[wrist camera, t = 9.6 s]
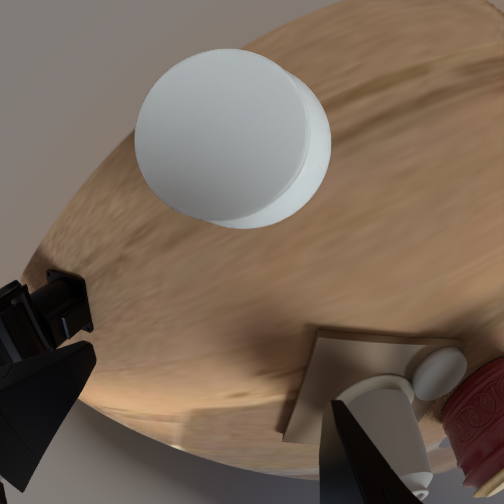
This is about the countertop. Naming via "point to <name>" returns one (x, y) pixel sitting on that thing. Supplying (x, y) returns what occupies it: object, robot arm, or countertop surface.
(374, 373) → the board
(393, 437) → the can
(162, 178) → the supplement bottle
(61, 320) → the robot arm
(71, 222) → the countertop surface
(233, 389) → the countertop surface
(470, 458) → the canister
